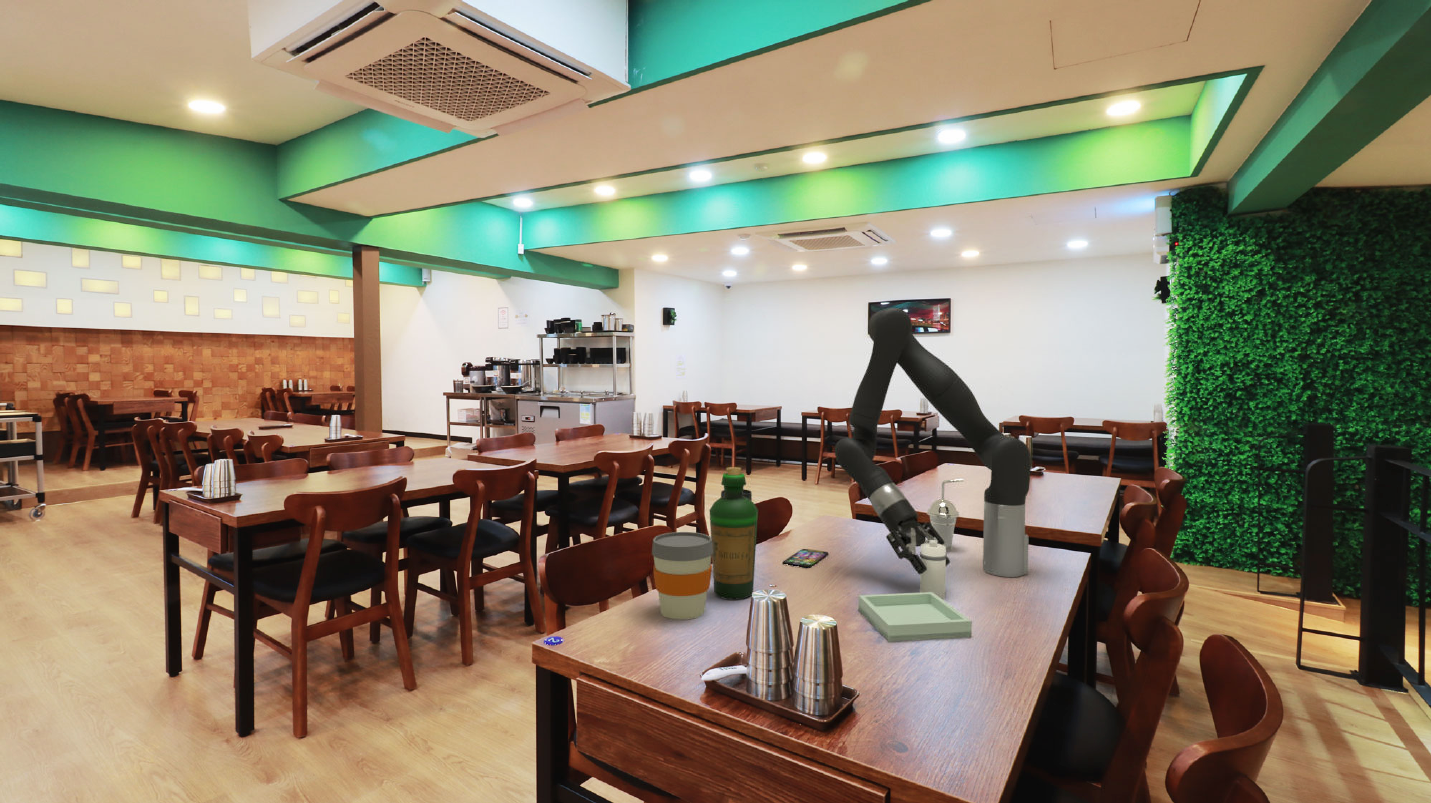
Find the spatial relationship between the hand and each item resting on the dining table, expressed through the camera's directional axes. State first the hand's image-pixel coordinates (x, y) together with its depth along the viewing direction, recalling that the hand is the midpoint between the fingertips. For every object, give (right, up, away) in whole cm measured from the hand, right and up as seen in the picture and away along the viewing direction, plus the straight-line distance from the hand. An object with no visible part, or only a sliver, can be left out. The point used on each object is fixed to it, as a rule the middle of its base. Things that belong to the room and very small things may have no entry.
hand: (935, 568), depth 142 cm
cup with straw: (+15, -5, +38) cm, 41 cm away
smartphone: (-24, -6, +29) cm, 38 cm away
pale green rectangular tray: (-10, -7, -14) cm, 19 cm away
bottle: (-44, -6, +2) cm, 44 cm away
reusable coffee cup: (-55, -7, -8) cm, 56 cm away
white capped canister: (0, -6, +1) cm, 6 cm away
